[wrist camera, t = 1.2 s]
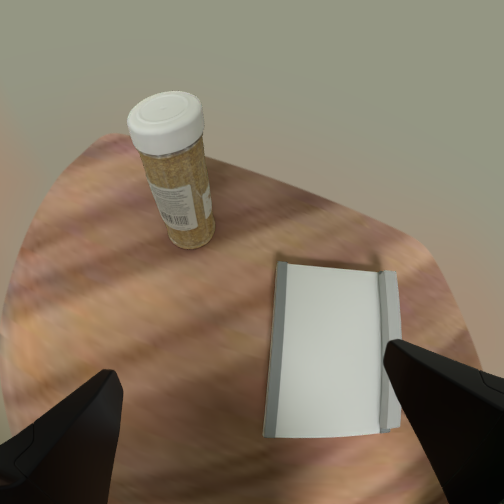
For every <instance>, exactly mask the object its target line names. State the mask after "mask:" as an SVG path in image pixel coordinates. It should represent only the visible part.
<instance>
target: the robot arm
mask: <svg viewBox="0 0 504 504" xmlns="http://www.w3.org/2000/svg"><path fill="white" fill-rule="evenodd" d="M383 366H384V368H385V371H386V373H387V375H388V378H389V380H390V383H391V385H392V388H393V390H394V393H395V395H396V397H397V399H398V401H399V403H400V405H401V407H402V409H403V411H404V413H405V415H406V416H407V418H408V420H409V422H410V424H411V426H412V428H413V430H414V432H415V434H416V436H417V437H418V439H419V441H420V443H421V445H422V447H423V449H424V451H425V453H426V455H427V457H428V459H429V461H430V463H431V466H432V468H433V470H434V472H435V474H436V476H437V478H438V480H439V482H440V485H441V487H443V488H442V489H443V491H444V494H445V496H446V498H447V500H448V503H449V504H504V378H501V377H497V376H494V375H492V374H489V373H486V372H483V371H481V370H478V369H475V368H473V367H470V366H467V365H465V364H462V363H460V362H457V361H454V360H452V359H449V358H447V357H444V356H441V355H439V354H436V353H434V352H431V351H429V350H426V349H424V348H421V347H419V346H416V345H414V344H411V343H409V342H406V341H404V340H401V339H394V340H390V341H388V342H387V345H386V349H385V353H384V357H383ZM122 402H123V388H122V385H121V383H120V381H119V378H118V376H117V373H116V372H115V371H114V370H111V369H103V370H101V371H100V372H99V373H97V374H96V375H95V376H93V377H92V378H91V379H89V380H88V381H87V382H86V383H84V384H83V385H82V386H80V387H79V388H78V389H76V390H75V391H74V392H72V393H71V394H70V395H69V396H67V397H66V398H65V399H63V400H62V401H61V402H59V403H58V404H57V405H55V406H54V407H53V408H52V409H50V410H49V411H48V412H46V413H45V414H44V415H42V416H41V417H40V418H38V419H37V420H36V421H34V424H33V423H32V424H30V425H29V426H28V427H26V428H25V429H24V430H22V431H21V432H20V433H18V434H17V435H15V436H14V437H12V438H11V439H9V440H8V441H6V442H5V443H3V444H1V445H0V504H107V502H108V495H109V488H110V481H111V475H112V469H113V464H114V458H115V453H116V447H117V442H118V437H119V432H120V422H121V411H122Z"/></svg>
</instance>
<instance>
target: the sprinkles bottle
mask: <svg viewBox="0 0 504 504" xmlns="http://www.w3.org/2000/svg"><path fill="white" fill-rule="evenodd" d="M127 124H128V128H129V132H130V135H131V138H132V141H133V144H134V146H135V147H136V149H137V150H138V152H139V153H140V157H141V160H142V162H143V166H144V169H145V171H146V177H147V180H148V183H149V185H150V188H151V191H152V194H153V196H154V199H155V202H156V204H157V207H158V209H159V212H160V214H161V217H162V219H163V221H164V222H165V225H166V227H167V229H168V236H169V238H170V240H171V241H172V242H173V243H174V244H175V245H176V246H178V247H181V248H184V249H196V248H199V247H201V246H203V245H205V244H207V243H208V242H209V241H210V239H211V238H212V236H213V234H214V231H215V220H214V218H213V213H212V202H211V194H210V187H209V180H208V173H207V167H206V164H205V156H204V147H203V139H202V135H203V130H204V117H203V109H202V104H201V101H200V100H199V99H198V98H197V97H196V96H195V95H193V94H190V93H188V92H183V91H169V92H162V93H158V94H155V95H152V96H150V97H148V98H146V99H144V100H142V101H141V102H139V103H138V104H137V105H136V106H135V107H134V108H133V109H132V110H131V111H130V113H129V115H128V119H127Z"/></svg>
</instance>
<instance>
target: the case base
mask: <svg viewBox="0 0 504 504" xmlns="http://www.w3.org/2000/svg"><path fill="white" fill-rule="evenodd" d="M287 263H288V262H281V261H278V263H277V266H276V277H275V292H274V307H273V321H272V334H271V347H270V359H269V371H268V382H267V393H266V404H265V415H264V425H263V437H265V438H275V437H278V438H324V437H343V436H356V435H367V434H375V433H387V432H390V428H397V427H400V419H401V405H400V403H399V401H398V399H397V397H396V395H395V393H394V390H393V388H392V385H391V383H390V380H389V378H388V375H387V373H386V371H385V368H384V366H383V357H384V353H385V349H386V345H387V342H388V341H390V340H394V339H401V340H402V336H401V317H400V304H399V293H398V283H397V275H396V271H386V270H384V271H379V272H369V271H358V270H348V269H337V268H326V267H316V266H305V265H295V264H287Z"/></svg>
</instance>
